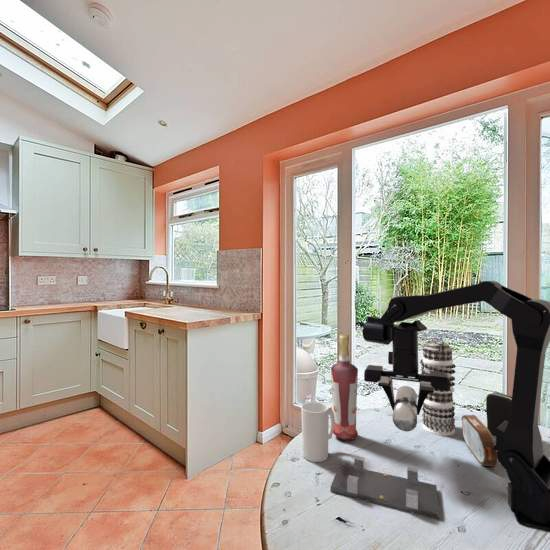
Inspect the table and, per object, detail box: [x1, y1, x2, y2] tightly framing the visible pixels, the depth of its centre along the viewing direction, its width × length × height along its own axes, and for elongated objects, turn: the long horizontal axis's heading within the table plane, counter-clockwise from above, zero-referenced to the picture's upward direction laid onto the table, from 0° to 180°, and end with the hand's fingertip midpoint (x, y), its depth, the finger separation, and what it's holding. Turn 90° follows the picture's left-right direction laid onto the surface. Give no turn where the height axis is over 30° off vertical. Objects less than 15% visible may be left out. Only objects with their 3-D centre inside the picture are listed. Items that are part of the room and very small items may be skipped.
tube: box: [392, 385, 418, 432], centre depth 79 cm, size 16×5×5 cm, turn 156°
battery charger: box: [485, 392, 512, 437], centre depth 90 cm, size 7×4×11 cm, turn 34°
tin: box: [461, 414, 498, 468], centre depth 81 cm, size 15×3×8 cm, turn 168°
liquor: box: [330, 334, 359, 441], centre depth 91 cm, size 7×7×28 cm
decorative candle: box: [419, 340, 456, 437], centre depth 95 cm, size 9×9×25 cm
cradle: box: [330, 455, 440, 520], centre depth 67 cm, size 20×10×4 cm, turn 66°
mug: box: [300, 401, 335, 463], centre depth 82 cm, size 10×7×12 cm, turn 125°
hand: (405, 412), depth 79 cm, fingers closed on tube, 5 cm apart
